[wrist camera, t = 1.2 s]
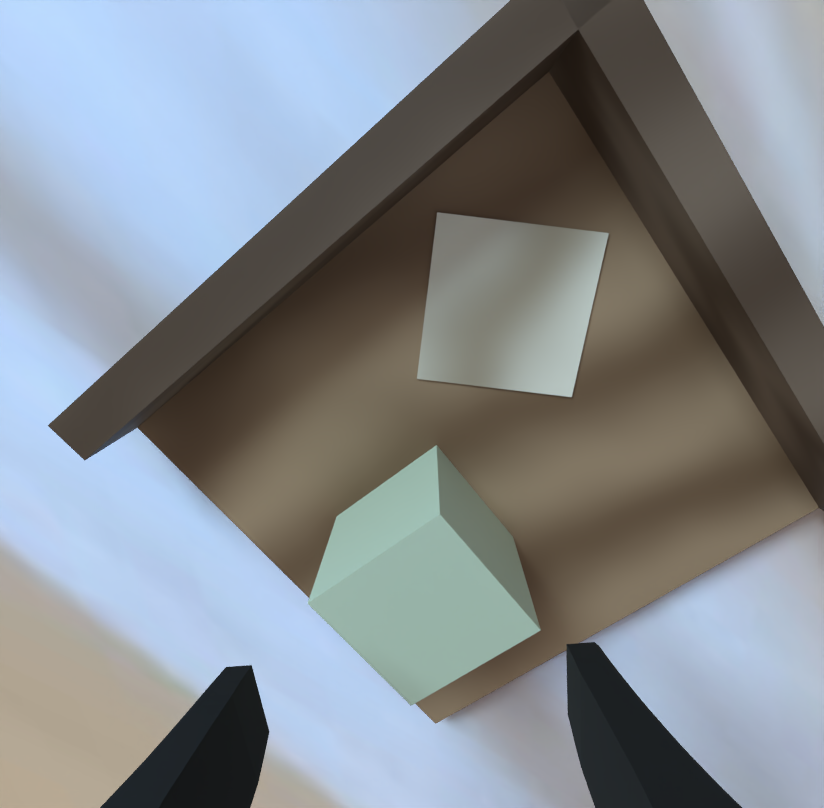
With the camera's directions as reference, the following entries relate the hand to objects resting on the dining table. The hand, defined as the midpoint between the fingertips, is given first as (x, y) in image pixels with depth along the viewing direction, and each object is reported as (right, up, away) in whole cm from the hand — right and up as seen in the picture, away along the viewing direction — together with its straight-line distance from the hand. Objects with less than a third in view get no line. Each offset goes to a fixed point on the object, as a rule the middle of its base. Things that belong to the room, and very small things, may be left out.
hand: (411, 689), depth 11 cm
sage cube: (+1, +2, +8) cm, 9 cm away
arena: (+3, +5, +8) cm, 10 cm away
